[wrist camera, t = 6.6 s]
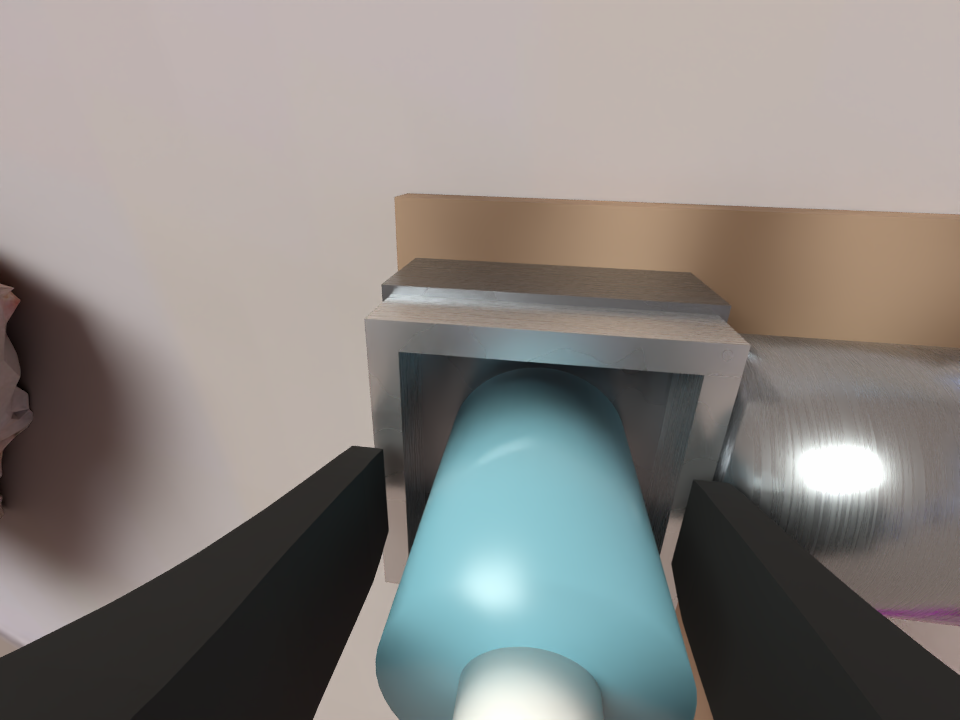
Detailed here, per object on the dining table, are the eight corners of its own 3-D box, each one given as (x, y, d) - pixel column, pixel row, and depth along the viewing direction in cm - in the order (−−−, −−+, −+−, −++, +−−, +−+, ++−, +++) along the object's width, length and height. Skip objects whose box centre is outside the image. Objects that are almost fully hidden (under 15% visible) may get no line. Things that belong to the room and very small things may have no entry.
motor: (1013, 290, 11) (1432, 410, 6) (896, 522, 14) (1103, 741, 9) (415, 257, 12) (323, 330, 7) (422, 472, 15) (359, 633, 10)
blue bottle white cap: (659, 412, 10) (818, 775, 4) (574, 534, 12) (602, 916, 6) (491, 338, 10) (412, 614, 4) (429, 473, 12) (309, 805, 6)
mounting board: (1013, 216, 11) (1063, 223, 10) (776, 715, 19) (790, 748, 18) (407, 193, 13) (394, 197, 12) (424, 662, 21) (417, 690, 20)
